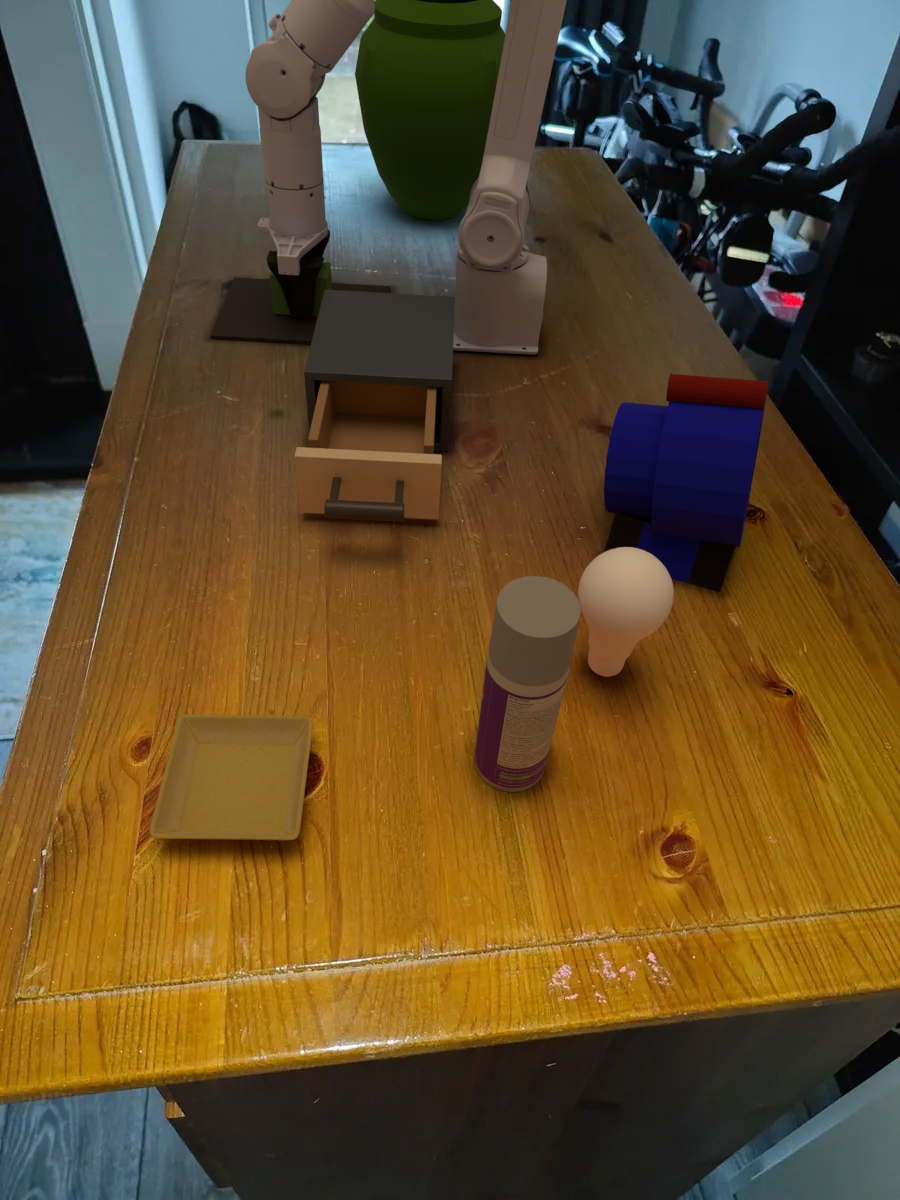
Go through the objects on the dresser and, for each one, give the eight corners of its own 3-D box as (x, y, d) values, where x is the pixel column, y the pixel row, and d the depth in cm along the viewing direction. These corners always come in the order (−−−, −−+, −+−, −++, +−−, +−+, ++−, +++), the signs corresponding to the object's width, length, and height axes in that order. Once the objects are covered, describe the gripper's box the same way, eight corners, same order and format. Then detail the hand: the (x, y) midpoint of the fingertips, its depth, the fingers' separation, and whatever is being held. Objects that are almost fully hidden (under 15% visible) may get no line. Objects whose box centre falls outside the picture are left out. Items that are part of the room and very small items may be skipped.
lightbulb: (591, 716, 58) (623, 608, 50) (544, 653, 61) (567, 543, 53) (662, 685, 60) (704, 577, 52) (613, 627, 64) (645, 517, 56)
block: (332, 301, 94) (330, 262, 91) (329, 317, 92) (326, 277, 88) (278, 298, 94) (274, 259, 91) (273, 314, 91) (269, 274, 88)
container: (470, 732, 56) (489, 574, 46) (539, 729, 57) (574, 572, 46) (477, 794, 53) (500, 641, 42) (550, 790, 54) (591, 638, 43)
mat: (390, 289, 98) (390, 286, 98) (382, 348, 89) (382, 344, 89) (234, 280, 97) (234, 277, 97) (210, 338, 89) (210, 335, 88)
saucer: (153, 853, 50) (145, 837, 48) (184, 730, 55) (178, 712, 54) (301, 856, 50) (298, 840, 48) (316, 734, 56) (314, 715, 54)
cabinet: (447, 451, 77) (452, 379, 72) (310, 444, 77) (303, 371, 71) (450, 365, 87) (454, 296, 82) (328, 359, 87) (324, 289, 81)
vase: (374, 174, 121) (371, -35, 103) (509, 188, 120) (530, -20, 102) (344, 231, 108) (334, 3, 90) (495, 248, 106) (516, 21, 89)
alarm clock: (727, 594, 67) (794, 438, 56) (577, 551, 69) (612, 394, 58) (745, 501, 75) (807, 349, 64) (610, 466, 77) (647, 314, 66)
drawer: (437, 555, 67) (440, 498, 62) (292, 548, 66) (285, 491, 62) (442, 423, 79) (445, 369, 75) (320, 417, 78) (316, 361, 74)
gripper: (265, 149, 88) (278, 275, 98) (239, 206, 78) (256, 340, 88) (333, 153, 88) (339, 278, 98) (315, 211, 78) (324, 344, 88)
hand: (304, 308), depth 93 cm, fingers closed on block, 3 cm apart
